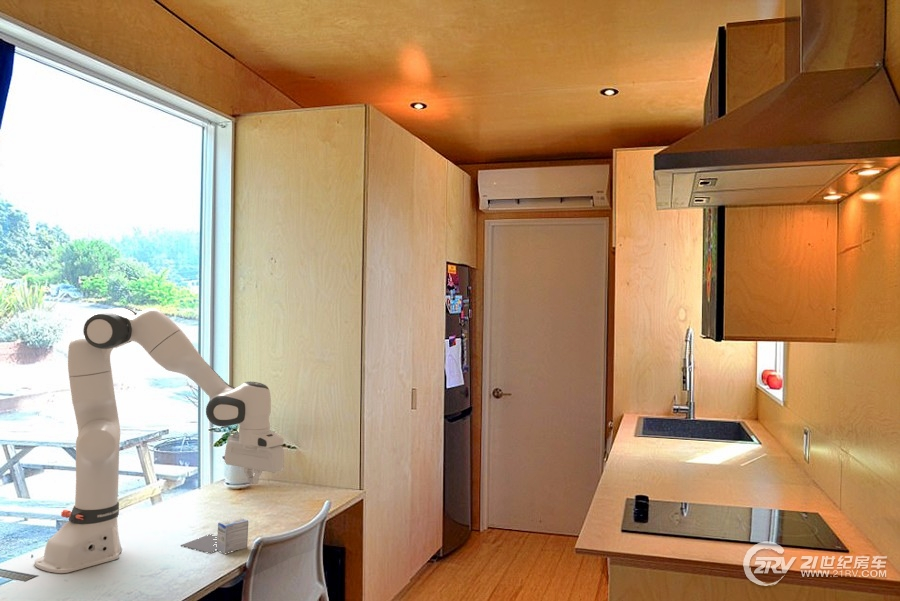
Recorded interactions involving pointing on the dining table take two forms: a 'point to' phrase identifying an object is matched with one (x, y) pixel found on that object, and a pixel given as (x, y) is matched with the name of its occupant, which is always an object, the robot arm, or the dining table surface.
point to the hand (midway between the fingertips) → (252, 483)
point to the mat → (203, 544)
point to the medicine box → (232, 535)
